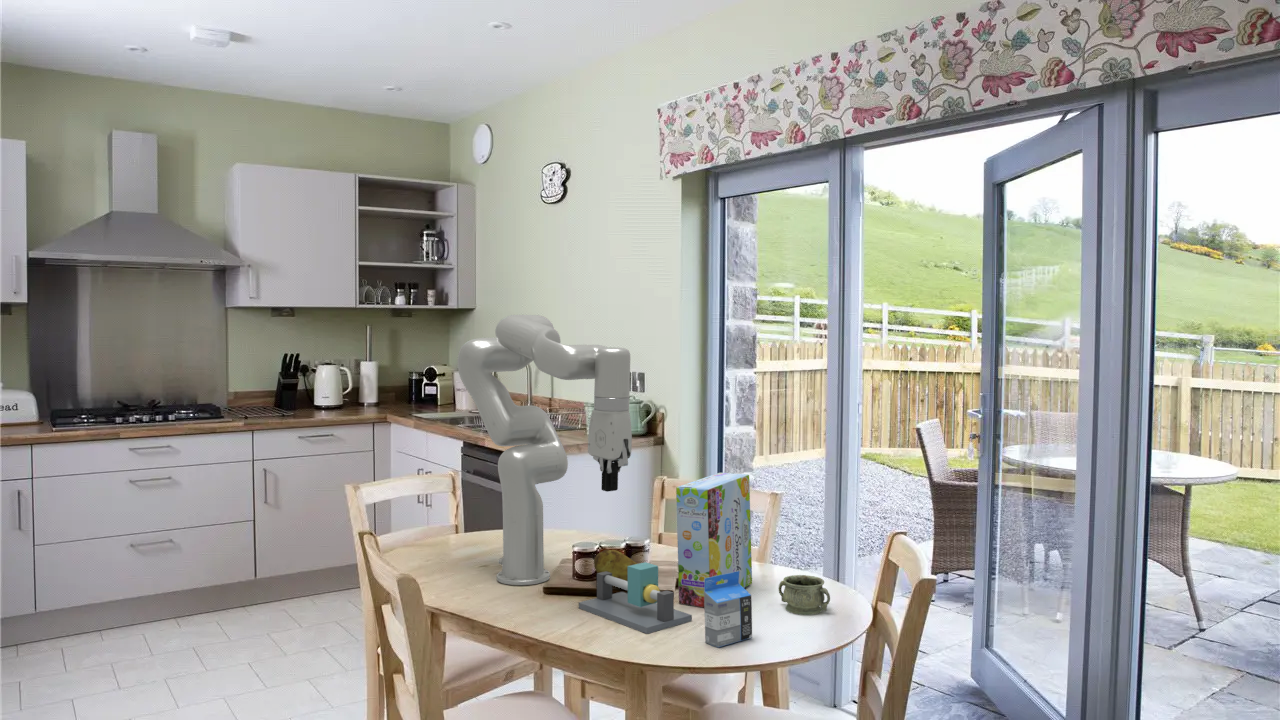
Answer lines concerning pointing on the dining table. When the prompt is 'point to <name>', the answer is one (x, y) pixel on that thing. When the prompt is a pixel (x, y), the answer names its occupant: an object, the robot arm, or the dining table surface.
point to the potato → (613, 563)
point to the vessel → (804, 594)
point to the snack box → (713, 533)
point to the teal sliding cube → (640, 582)
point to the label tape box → (726, 610)
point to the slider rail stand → (634, 606)
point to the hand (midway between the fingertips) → (609, 490)
